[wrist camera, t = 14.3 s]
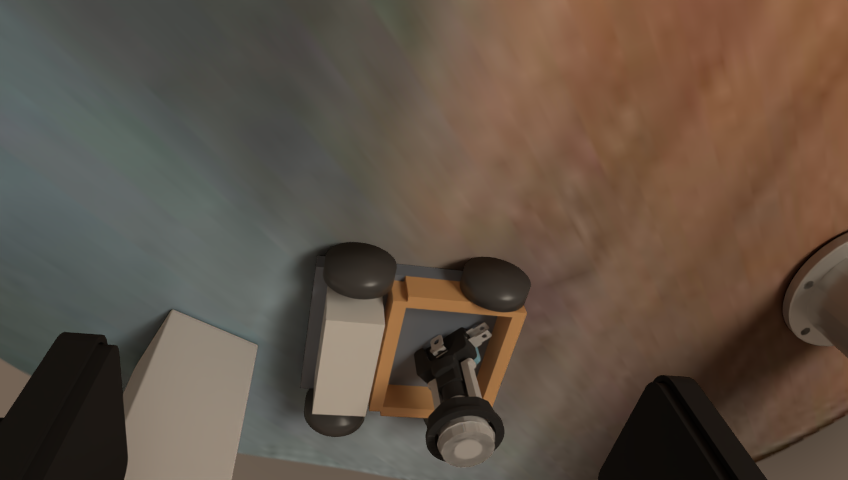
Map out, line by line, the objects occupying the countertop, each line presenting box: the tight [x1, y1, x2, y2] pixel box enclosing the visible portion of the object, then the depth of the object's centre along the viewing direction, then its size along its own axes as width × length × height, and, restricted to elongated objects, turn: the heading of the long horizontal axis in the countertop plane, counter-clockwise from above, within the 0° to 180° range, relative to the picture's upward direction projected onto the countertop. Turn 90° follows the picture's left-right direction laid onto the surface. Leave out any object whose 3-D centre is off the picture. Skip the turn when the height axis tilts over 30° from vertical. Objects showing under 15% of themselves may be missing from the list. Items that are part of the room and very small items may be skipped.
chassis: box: [300, 242, 531, 437], centre depth 43 cm, size 16×15×6 cm
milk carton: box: [123, 310, 258, 480], centre depth 37 cm, size 7×7×19 cm
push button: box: [414, 322, 504, 467], centre depth 41 cm, size 7×5×10 cm
